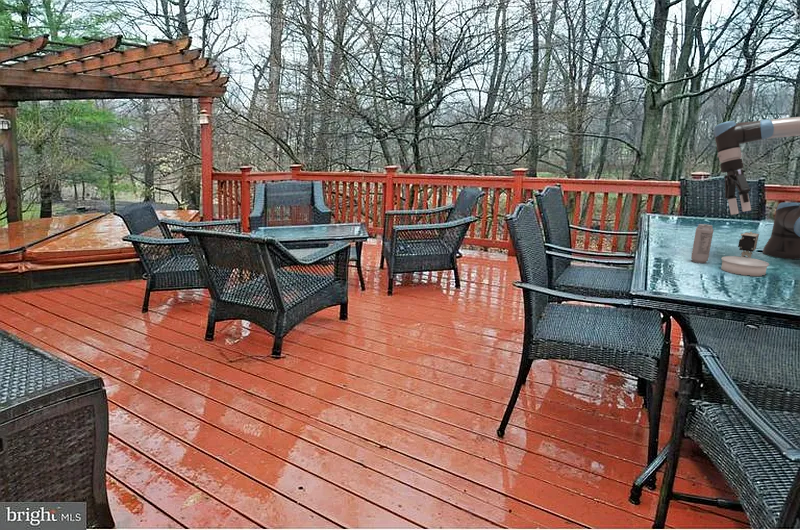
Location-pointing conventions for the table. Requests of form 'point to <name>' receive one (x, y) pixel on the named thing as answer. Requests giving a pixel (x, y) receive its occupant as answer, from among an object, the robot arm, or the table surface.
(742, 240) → the pneumatic valve
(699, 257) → the energy drink can
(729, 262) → the pedestal
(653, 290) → the table surface
